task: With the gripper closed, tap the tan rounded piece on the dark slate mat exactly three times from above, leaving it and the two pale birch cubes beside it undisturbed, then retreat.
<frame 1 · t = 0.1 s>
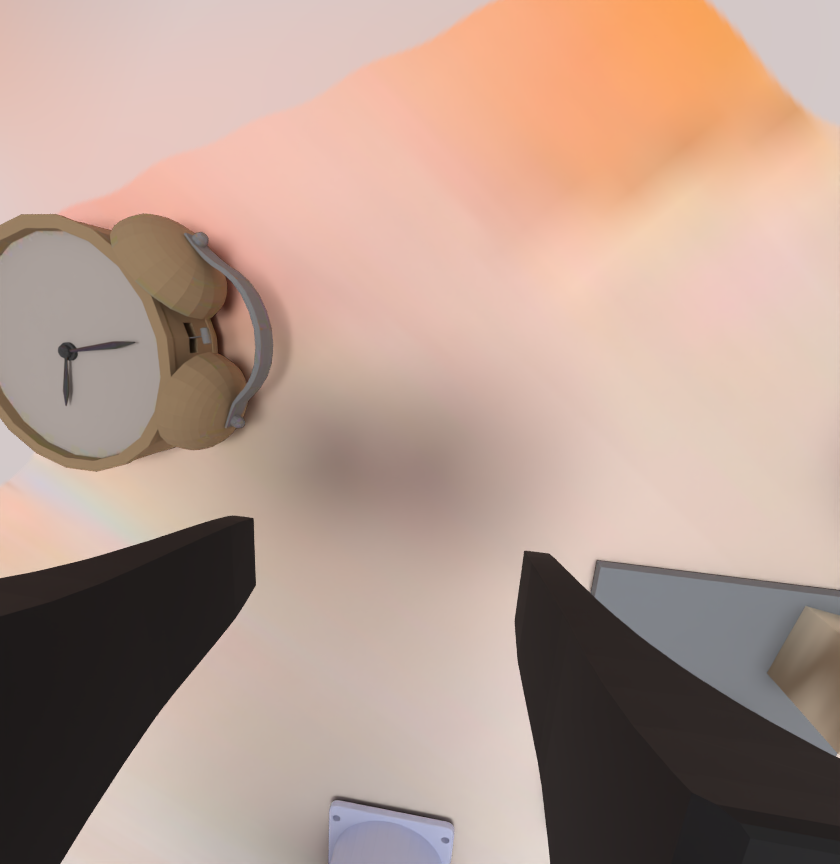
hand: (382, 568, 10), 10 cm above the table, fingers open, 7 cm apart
alarm clock: (160, 345, 21), on the table
slate mat: (693, 724, 22), on the table
birch cube B: (828, 652, 19), point 1 cm above the table, touching slate mat
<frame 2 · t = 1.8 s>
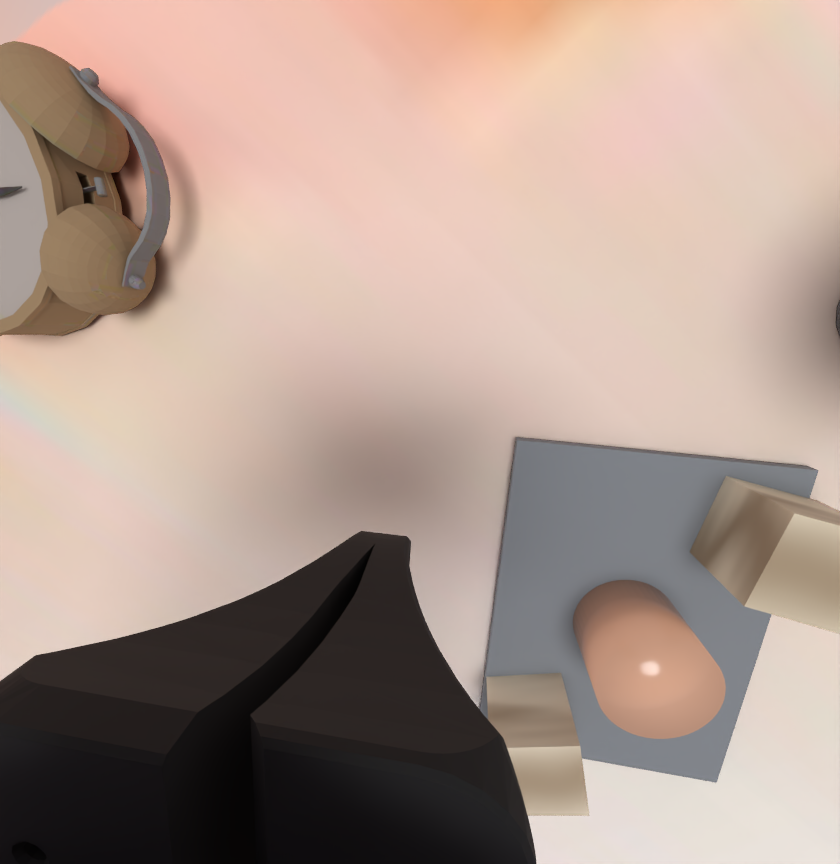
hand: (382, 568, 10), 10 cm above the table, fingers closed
birch cube A: (527, 705, 22), point 1 cm above the table, touching slate mat
alarm clock: (70, 219, 20), on the table
tan rounded piece: (623, 623, 20), point 1 cm above the table, touching slate mat
slate mat: (619, 615, 21), on the table
birch cube B: (750, 527, 19), point 1 cm above the table, touching slate mat
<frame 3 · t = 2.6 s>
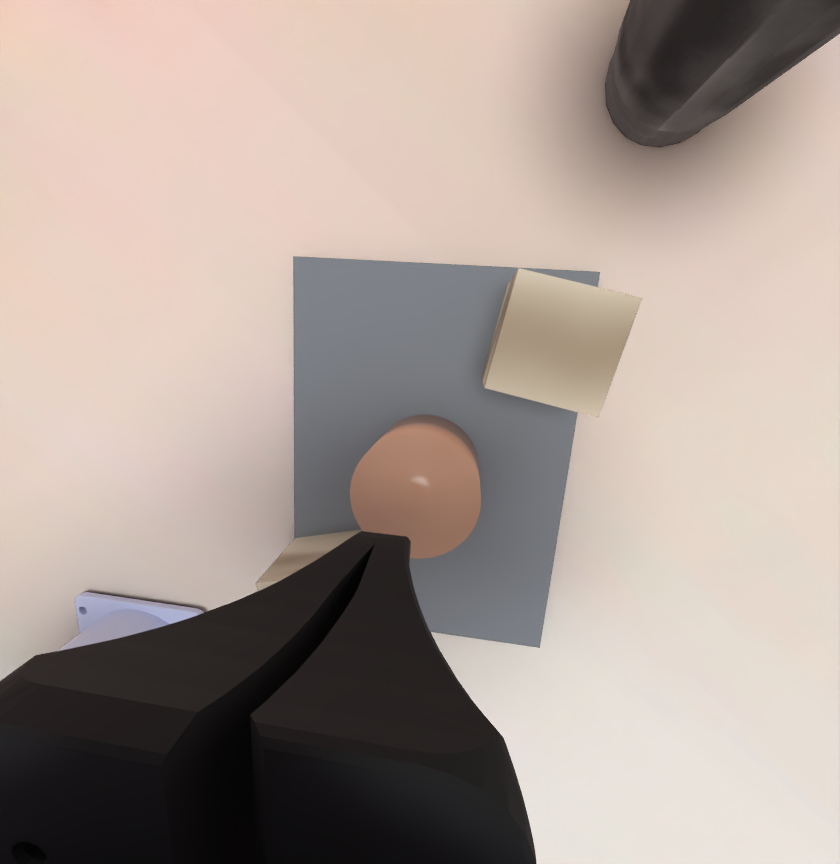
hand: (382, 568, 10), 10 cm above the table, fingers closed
birch cube A: (340, 568, 21), point 1 cm above the table, touching slate mat
tan rounded piece: (425, 466, 19), point 1 cm above the table, touching slate mat
slate mat: (426, 462, 20), on the table
beverage cup: (665, 82, 15), on the table
birch cube B: (539, 343, 17), point 1 cm above the table, touching slate mat
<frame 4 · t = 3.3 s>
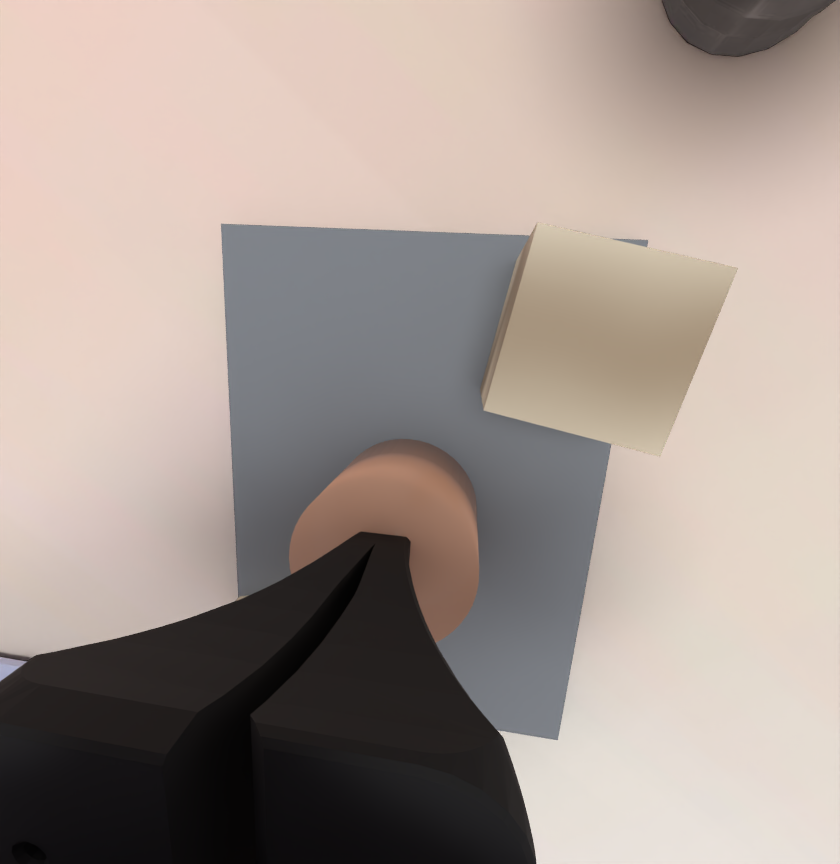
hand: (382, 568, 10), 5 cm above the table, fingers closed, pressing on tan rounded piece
tan rounded piece: (405, 507, 14), point 1 cm above the table, touching gripper, slate mat
slate mat: (408, 500, 15), on the table
birch cube B: (560, 342, 12), point 1 cm above the table, touching slate mat
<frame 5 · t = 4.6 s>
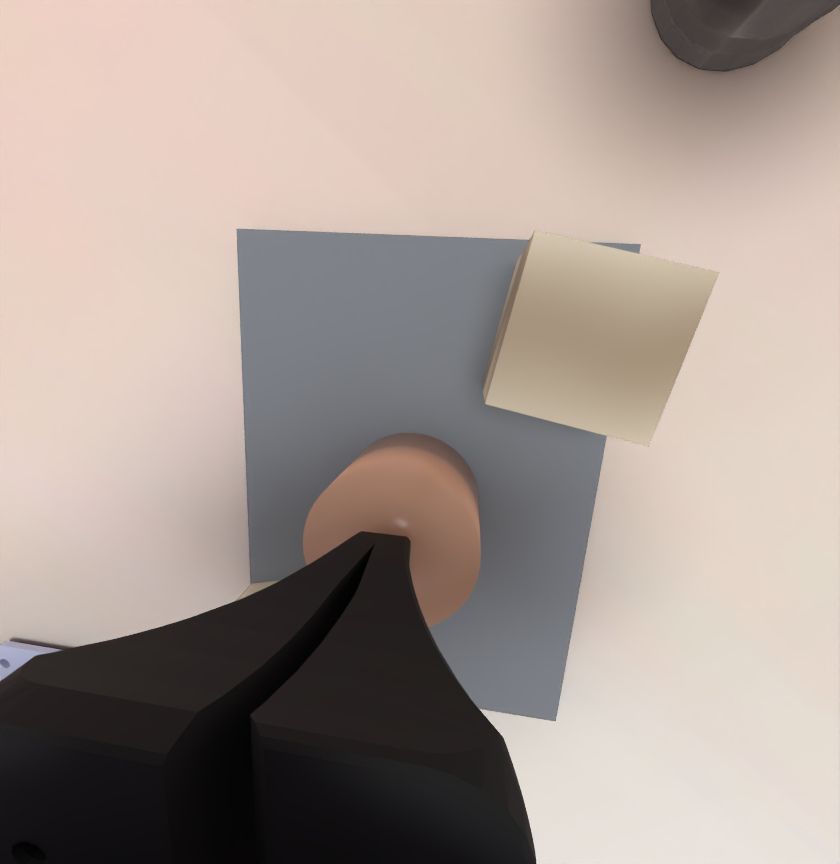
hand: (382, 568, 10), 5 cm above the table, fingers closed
tan rounded piece: (411, 498, 15), point 1 cm above the table, touching slate mat
slate mat: (413, 492, 16), on the table
birch cube B: (558, 341, 13), point 1 cm above the table, touching slate mat
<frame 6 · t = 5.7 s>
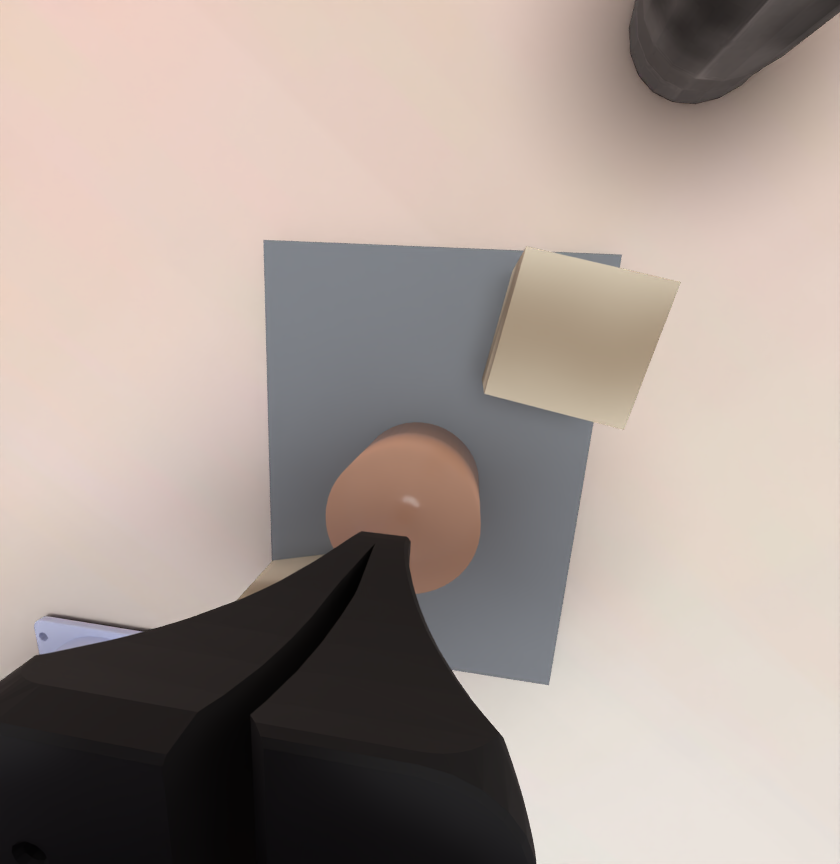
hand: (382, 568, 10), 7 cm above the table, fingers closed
birch cube A: (324, 594, 18), point 1 cm above the table, touching slate mat
tan rounded piece: (418, 481, 17), point 1 cm above the table, touching slate mat
slate mat: (420, 476, 17), on the table
beverage cup: (702, 25, 13), on the table
birch cube B: (549, 340, 15), point 1 cm above the table, touching slate mat
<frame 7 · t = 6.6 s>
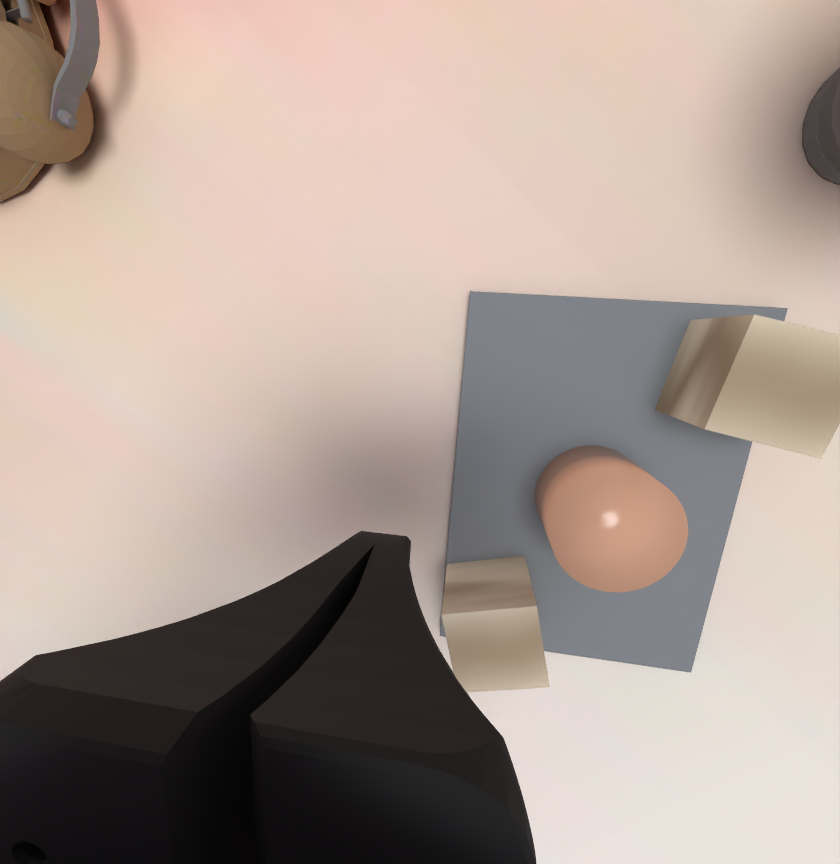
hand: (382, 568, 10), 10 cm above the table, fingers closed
birch cube A: (491, 594, 21), point 1 cm above the table, touching slate mat
alarm clock: (5, 74, 19), on the table
tan rounded piece: (588, 495, 19), point 1 cm above the table, touching slate mat
slate mat: (585, 491, 20), on the table
birch cube B: (718, 377, 17), point 1 cm above the table, touching slate mat
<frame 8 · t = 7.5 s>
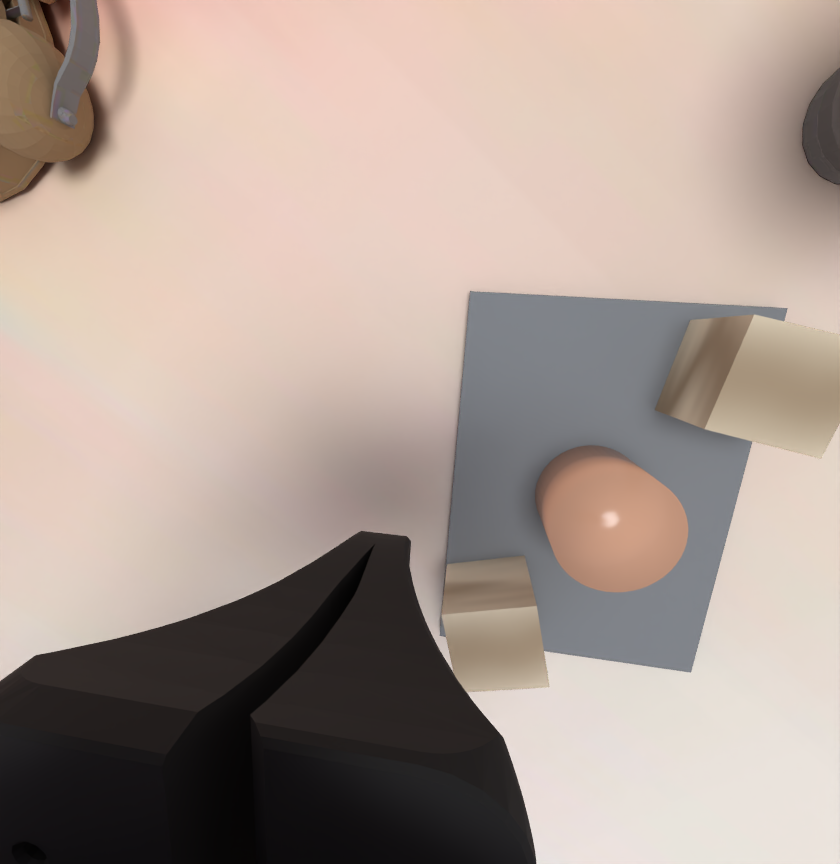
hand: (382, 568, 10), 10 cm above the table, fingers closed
birch cube A: (491, 594, 21), point 1 cm above the table, touching slate mat
alarm clock: (5, 73, 19), on the table
tan rounded piece: (588, 495, 19), point 1 cm above the table, touching slate mat
slate mat: (585, 491, 20), on the table
birch cube B: (718, 377, 17), point 1 cm above the table, touching slate mat
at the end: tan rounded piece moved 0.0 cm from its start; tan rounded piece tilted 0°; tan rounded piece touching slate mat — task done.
